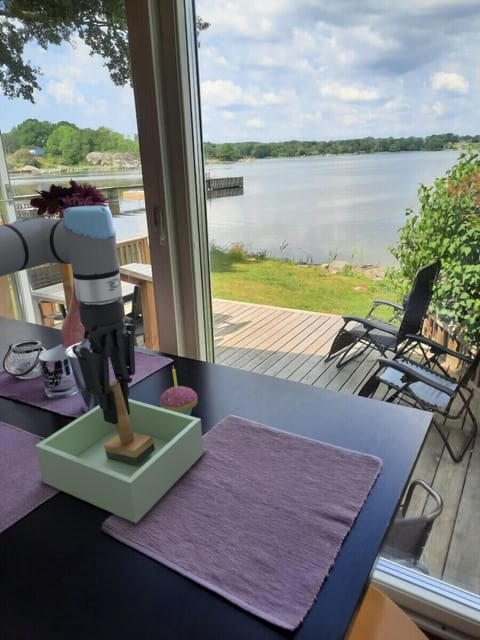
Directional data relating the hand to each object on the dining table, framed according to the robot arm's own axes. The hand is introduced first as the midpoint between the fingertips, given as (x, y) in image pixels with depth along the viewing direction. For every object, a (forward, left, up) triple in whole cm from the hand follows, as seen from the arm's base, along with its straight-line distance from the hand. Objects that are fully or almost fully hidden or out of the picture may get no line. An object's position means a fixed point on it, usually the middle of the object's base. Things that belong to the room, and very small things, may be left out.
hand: (117, 417), depth 84 cm
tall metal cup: (-18, +12, -9) cm, 24 cm away
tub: (+3, -2, -9) cm, 10 cm away
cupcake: (+2, +17, -9) cm, 20 cm away
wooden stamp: (+2, 0, -8) cm, 8 cm away
